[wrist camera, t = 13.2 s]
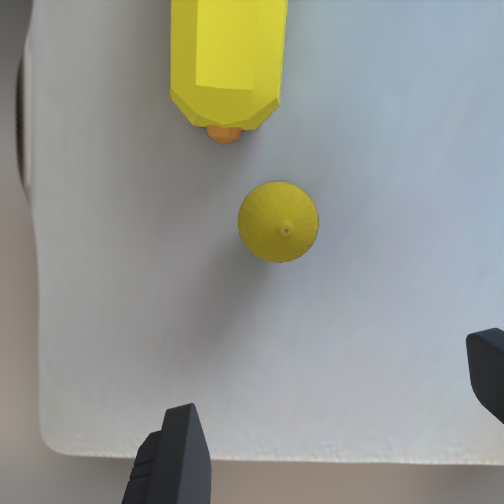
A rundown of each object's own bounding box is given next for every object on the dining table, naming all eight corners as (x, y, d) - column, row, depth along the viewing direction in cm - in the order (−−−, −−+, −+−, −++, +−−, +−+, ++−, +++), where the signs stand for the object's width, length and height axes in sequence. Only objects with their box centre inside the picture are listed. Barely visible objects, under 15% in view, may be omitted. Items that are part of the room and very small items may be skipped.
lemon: (278, 262, 31) (295, 292, 23) (223, 223, 30) (220, 242, 22) (319, 207, 30) (350, 219, 22) (263, 165, 29) (275, 163, 21)
